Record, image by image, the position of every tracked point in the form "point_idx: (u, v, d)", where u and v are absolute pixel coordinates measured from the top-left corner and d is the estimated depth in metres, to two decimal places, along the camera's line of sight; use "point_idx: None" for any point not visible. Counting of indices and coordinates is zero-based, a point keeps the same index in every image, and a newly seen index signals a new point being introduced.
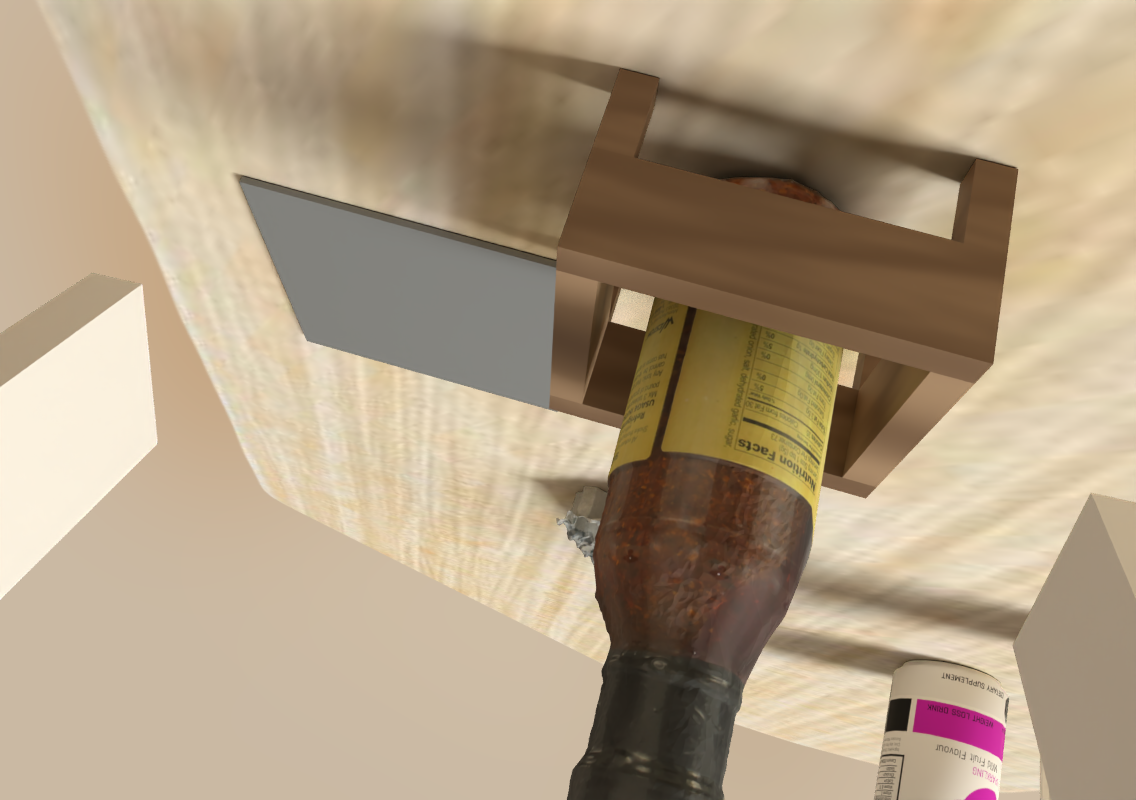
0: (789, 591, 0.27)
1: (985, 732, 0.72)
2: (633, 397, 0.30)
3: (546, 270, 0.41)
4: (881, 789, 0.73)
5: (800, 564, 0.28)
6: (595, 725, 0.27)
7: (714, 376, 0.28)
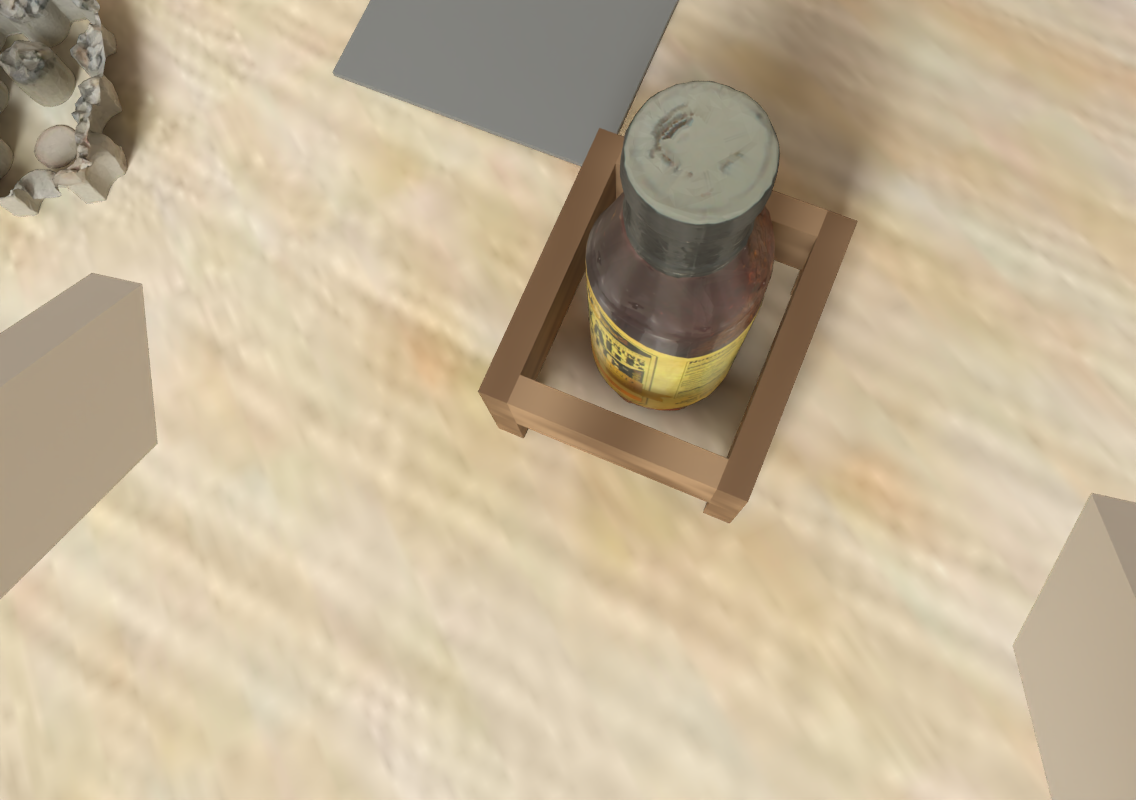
0: (708, 333, 0.32)
1: None
2: None
3: None
4: None
5: (690, 343, 0.33)
6: None
7: None
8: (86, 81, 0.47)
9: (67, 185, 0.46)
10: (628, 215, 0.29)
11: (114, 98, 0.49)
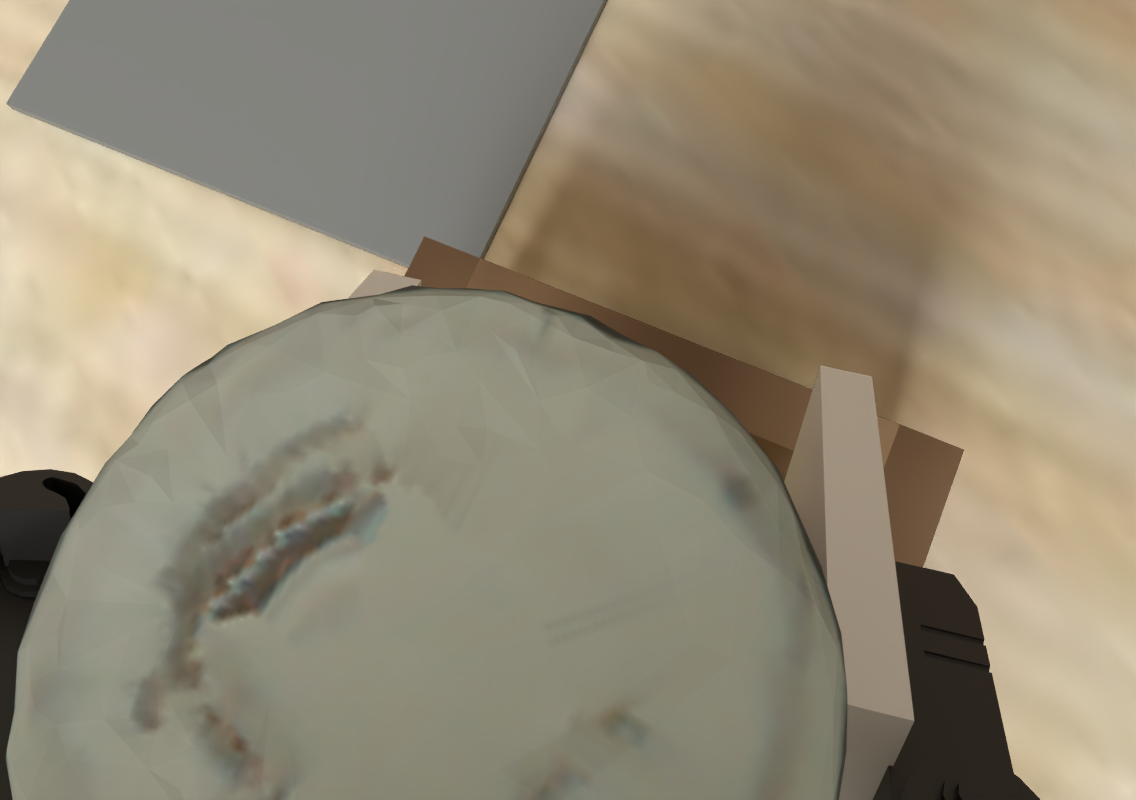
0: None
1: None
2: None
3: None
4: None
5: None
6: None
7: None
8: None
9: None
10: None
11: None
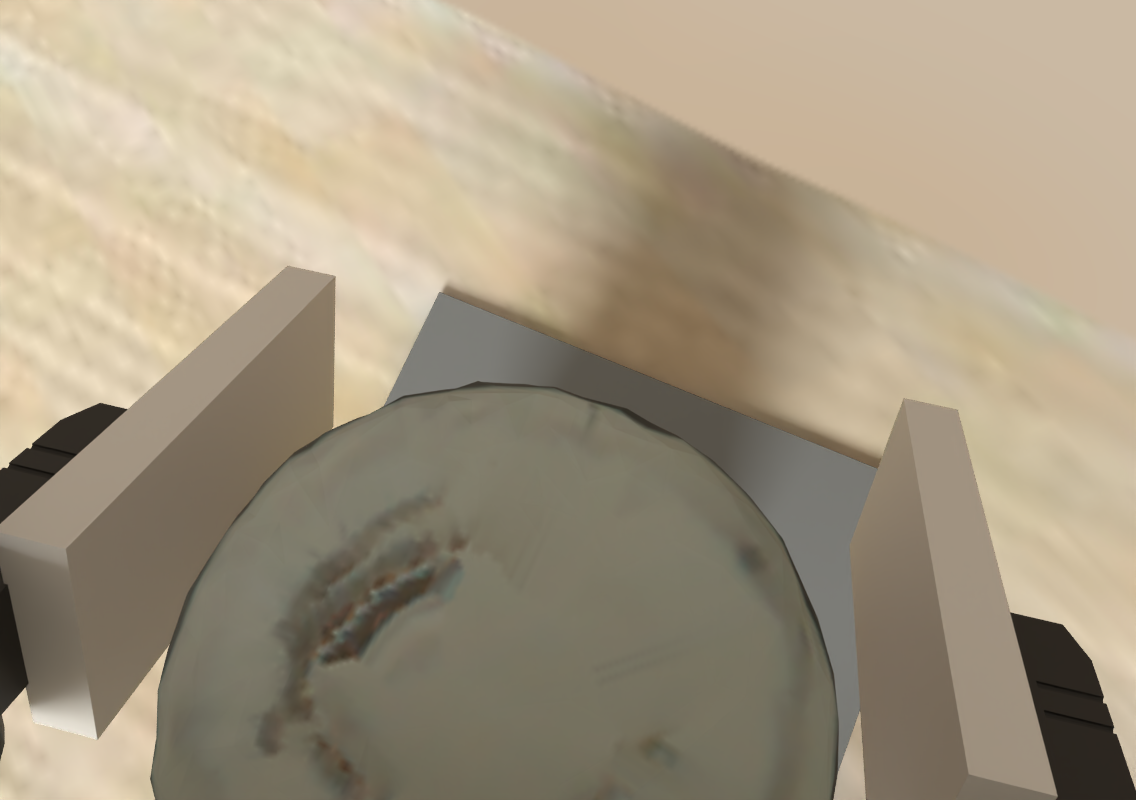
0: None
1: None
2: None
3: None
4: None
5: None
6: None
7: None
8: None
9: None
10: None
11: None
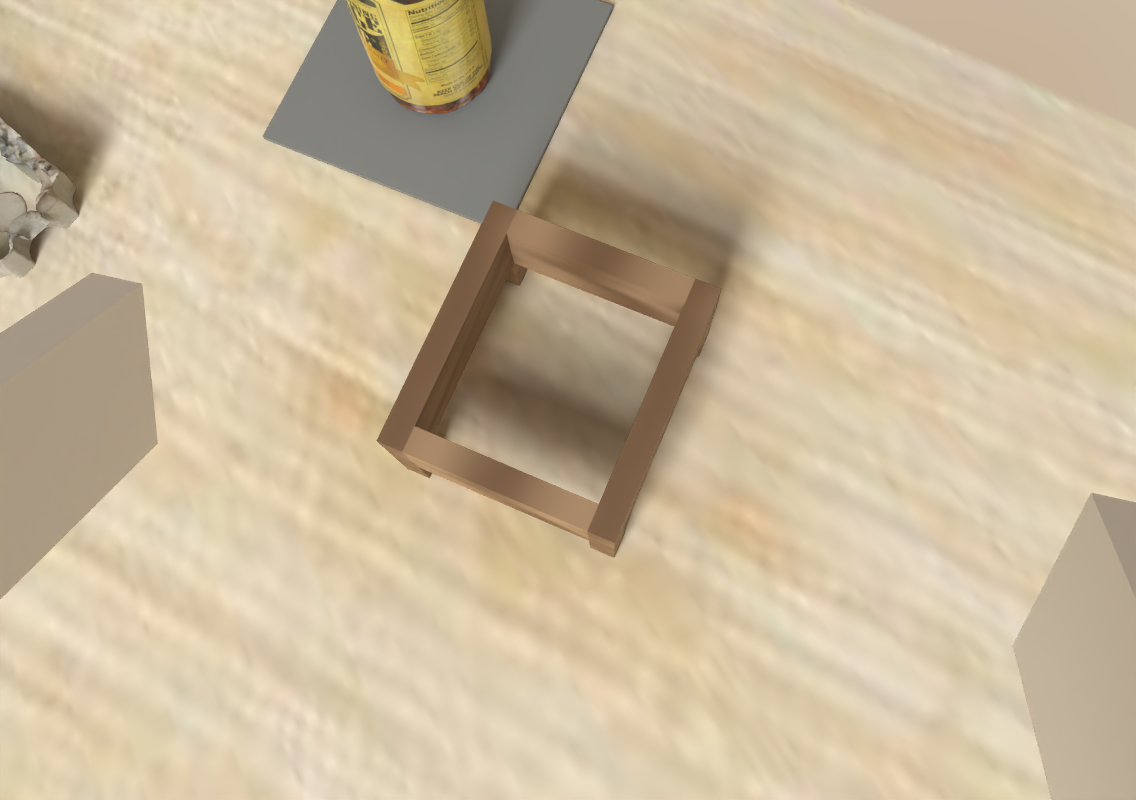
0: None
1: None
2: None
3: None
4: None
5: None
6: None
7: None
8: None
9: (48, 211, 0.51)
10: None
11: None
